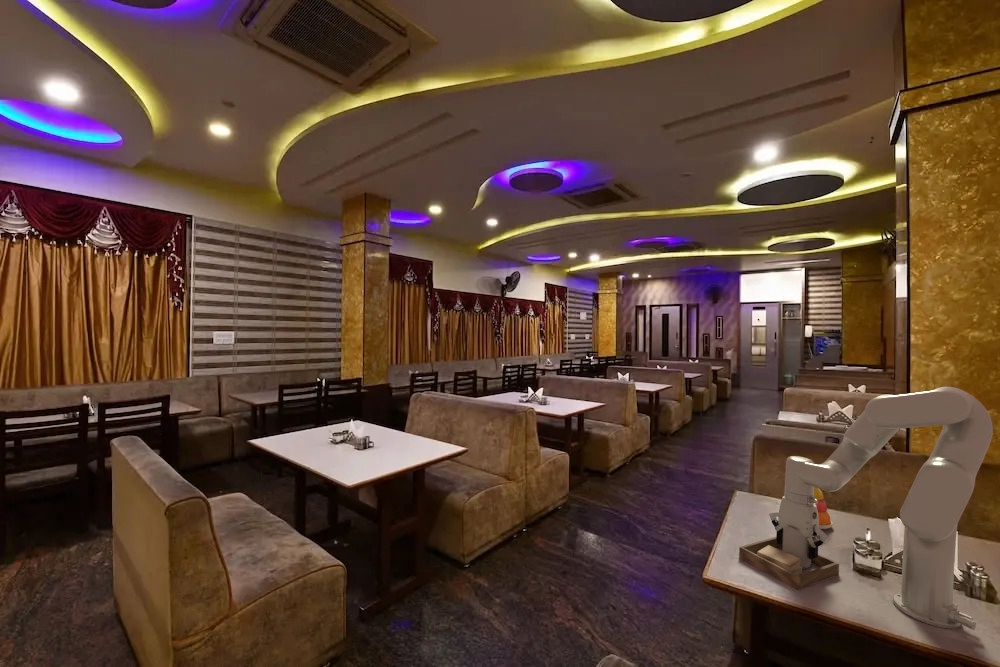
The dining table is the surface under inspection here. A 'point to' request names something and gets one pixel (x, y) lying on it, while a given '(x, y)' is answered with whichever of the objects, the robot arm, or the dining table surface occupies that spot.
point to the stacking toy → (822, 510)
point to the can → (796, 545)
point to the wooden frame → (798, 582)
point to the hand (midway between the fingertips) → (796, 550)
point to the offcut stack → (781, 559)
